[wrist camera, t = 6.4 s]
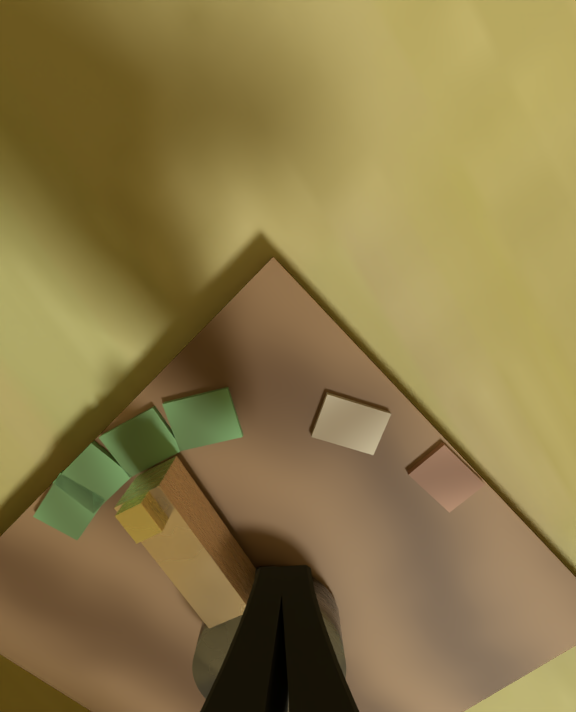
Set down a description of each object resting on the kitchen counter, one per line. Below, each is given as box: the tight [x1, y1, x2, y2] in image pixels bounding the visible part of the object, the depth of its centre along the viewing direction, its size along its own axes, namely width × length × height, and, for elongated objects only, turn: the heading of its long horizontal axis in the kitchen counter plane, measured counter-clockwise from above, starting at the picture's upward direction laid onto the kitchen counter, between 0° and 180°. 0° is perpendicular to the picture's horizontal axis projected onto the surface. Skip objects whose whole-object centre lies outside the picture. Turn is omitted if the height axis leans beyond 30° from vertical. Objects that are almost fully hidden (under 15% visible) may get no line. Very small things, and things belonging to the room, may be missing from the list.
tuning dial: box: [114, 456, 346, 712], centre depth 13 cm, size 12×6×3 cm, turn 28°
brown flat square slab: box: [0, 257, 576, 712], centre depth 16 cm, size 22×22×1 cm
